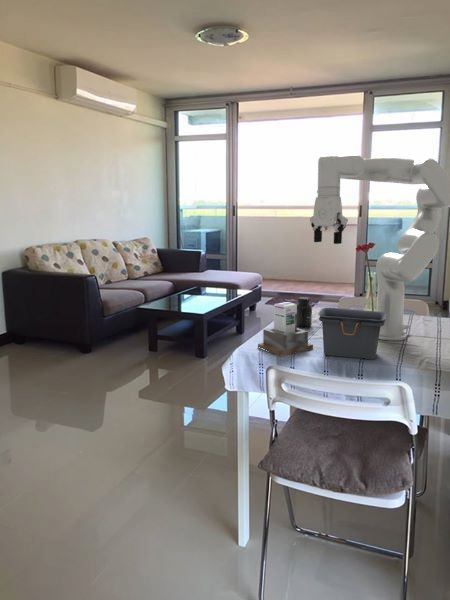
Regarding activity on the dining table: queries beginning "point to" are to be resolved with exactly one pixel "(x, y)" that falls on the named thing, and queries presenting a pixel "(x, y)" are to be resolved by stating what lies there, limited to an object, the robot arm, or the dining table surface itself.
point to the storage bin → (351, 332)
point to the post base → (285, 342)
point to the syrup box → (285, 318)
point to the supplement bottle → (304, 313)
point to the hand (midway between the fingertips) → (327, 242)
